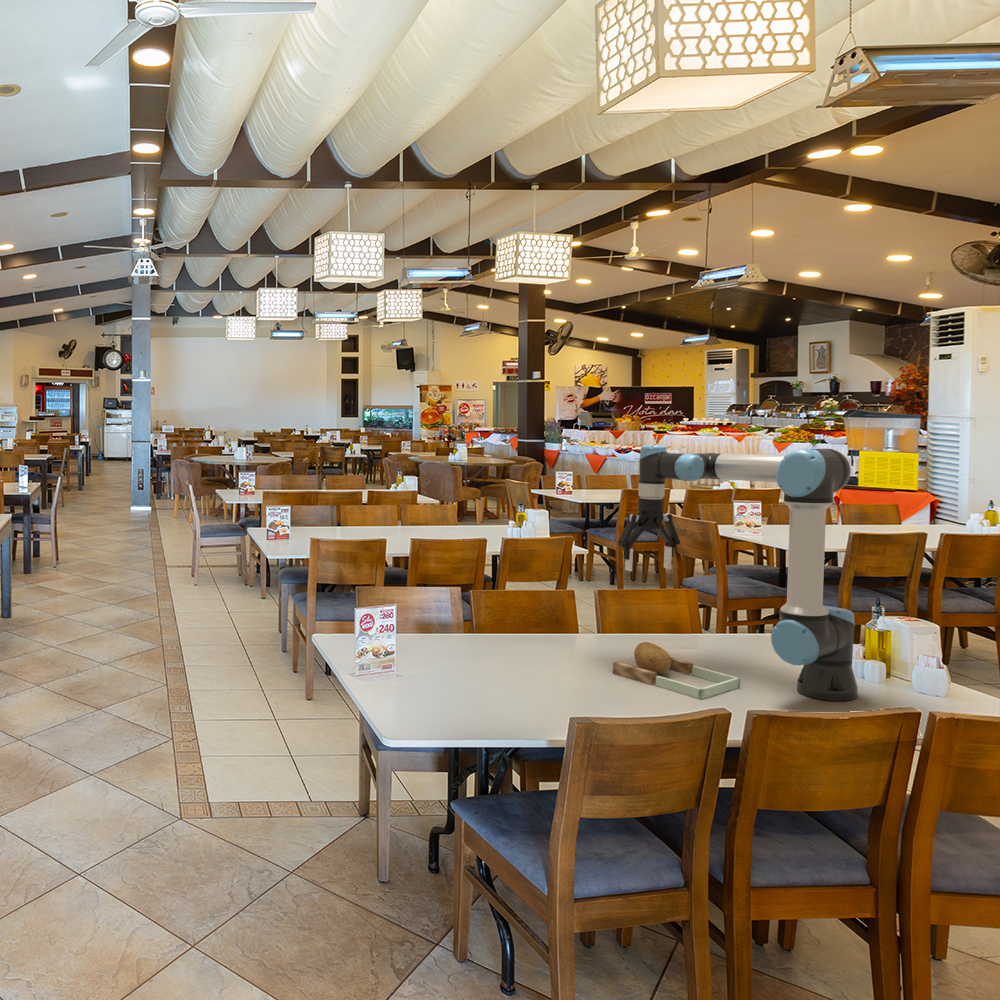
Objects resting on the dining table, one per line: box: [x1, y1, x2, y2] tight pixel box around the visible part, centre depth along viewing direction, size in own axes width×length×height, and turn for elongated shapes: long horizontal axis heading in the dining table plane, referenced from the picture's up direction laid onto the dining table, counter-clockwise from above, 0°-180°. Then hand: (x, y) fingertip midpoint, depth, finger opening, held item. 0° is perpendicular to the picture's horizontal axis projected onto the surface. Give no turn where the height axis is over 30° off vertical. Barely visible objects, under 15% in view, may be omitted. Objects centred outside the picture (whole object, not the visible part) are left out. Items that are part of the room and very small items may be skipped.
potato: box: [633, 641, 672, 676], centre depth 246 cm, size 10×14×8 cm
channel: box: [612, 656, 694, 686], centre depth 246 cm, size 14×18×3 cm
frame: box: [655, 665, 741, 700], centre depth 235 cm, size 15×17×2 cm
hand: (648, 569), depth 257 cm, fingers open, 13 cm apart
